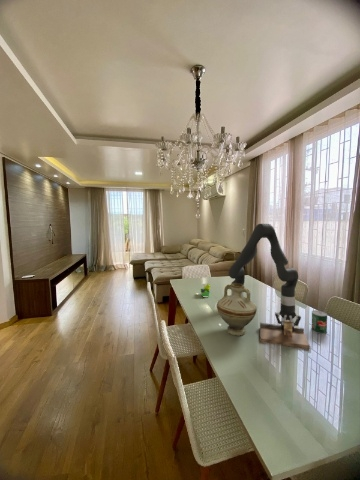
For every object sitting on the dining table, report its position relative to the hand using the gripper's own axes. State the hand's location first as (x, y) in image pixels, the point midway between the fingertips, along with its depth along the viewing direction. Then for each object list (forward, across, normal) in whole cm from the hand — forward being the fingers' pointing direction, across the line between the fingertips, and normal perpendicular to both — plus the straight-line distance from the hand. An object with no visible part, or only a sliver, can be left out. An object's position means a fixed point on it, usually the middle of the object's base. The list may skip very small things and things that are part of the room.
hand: (287, 331), depth 123 cm
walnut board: (+3, -3, -2) cm, 5 cm away
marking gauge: (+1, 0, -3) cm, 3 cm away
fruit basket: (+3, -61, +54) cm, 81 cm away
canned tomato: (+4, +19, +13) cm, 23 cm away
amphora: (+4, -29, -2) cm, 29 cm away
